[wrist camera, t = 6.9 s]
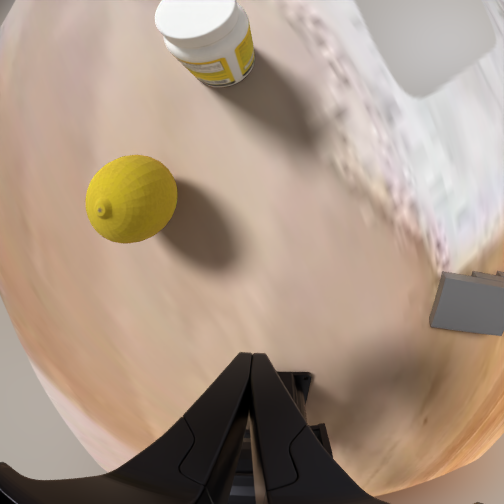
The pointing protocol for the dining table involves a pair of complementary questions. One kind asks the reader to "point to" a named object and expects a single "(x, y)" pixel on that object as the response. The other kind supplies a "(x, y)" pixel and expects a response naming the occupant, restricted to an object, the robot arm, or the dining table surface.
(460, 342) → the dining table surface
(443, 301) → the domino
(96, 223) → the lemon
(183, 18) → the supplement bottle
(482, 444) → the dining table surface
